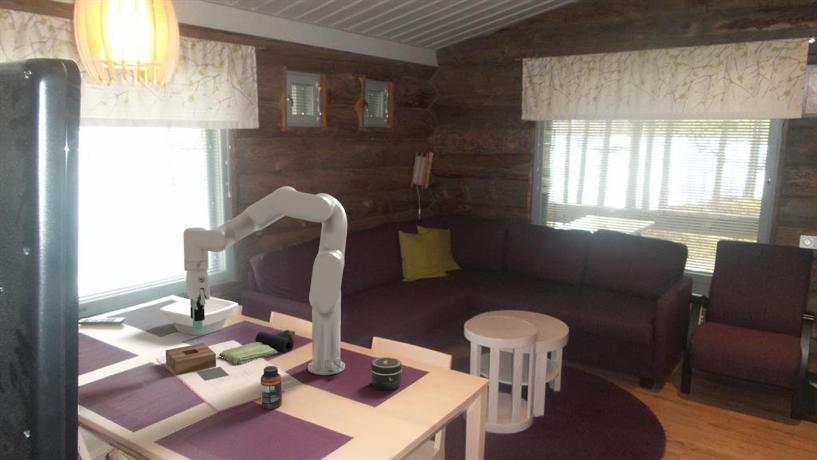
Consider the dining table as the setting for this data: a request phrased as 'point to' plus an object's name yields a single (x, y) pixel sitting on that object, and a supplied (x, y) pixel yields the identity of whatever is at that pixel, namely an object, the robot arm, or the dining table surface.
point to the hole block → (190, 358)
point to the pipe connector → (277, 340)
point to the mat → (212, 373)
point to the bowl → (213, 313)
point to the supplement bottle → (271, 388)
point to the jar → (386, 373)
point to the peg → (195, 323)
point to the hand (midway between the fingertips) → (197, 318)
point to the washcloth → (247, 353)
